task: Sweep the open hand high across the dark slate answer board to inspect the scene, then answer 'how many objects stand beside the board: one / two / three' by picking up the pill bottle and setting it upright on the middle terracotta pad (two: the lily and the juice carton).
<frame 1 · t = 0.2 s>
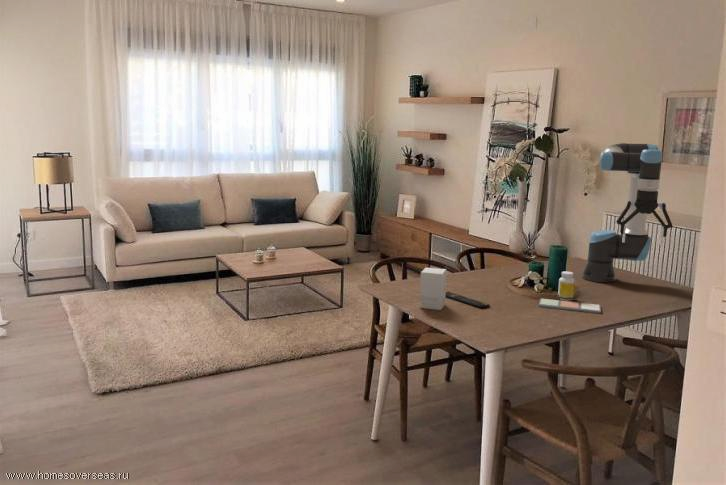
hand: (641, 243, 252), 28 cm above the table, fingers open, 13 cm apart
answer board: (569, 306, 262), on the table
supplement box: (432, 306, 260), on the table
remote control: (464, 302, 268), on the table
pill bottle: (565, 299, 273), on the table
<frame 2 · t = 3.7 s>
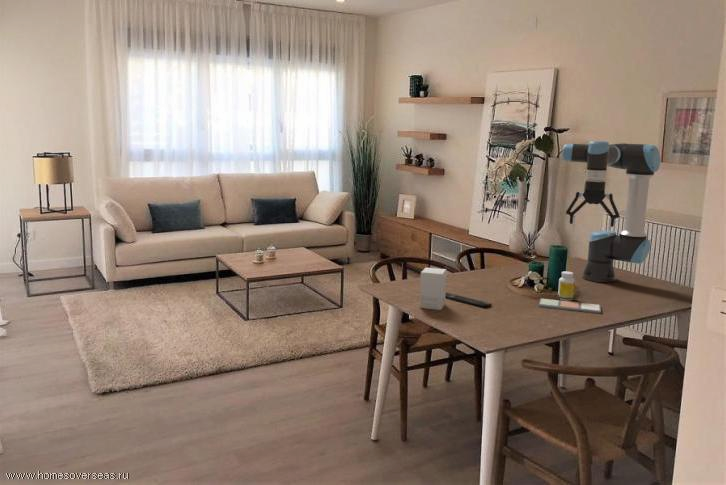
hand: (590, 233, 257), 31 cm above the table, fingers open, 13 cm apart
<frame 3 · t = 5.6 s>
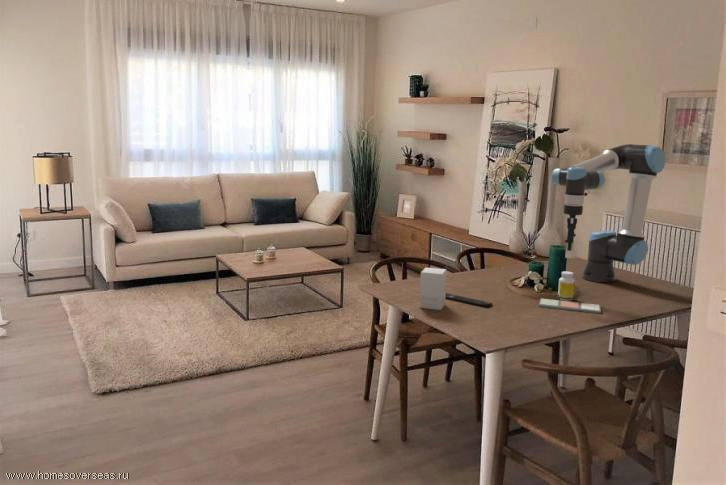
hand: (568, 254, 269), 19 cm above the table, fingers open, 13 cm apart
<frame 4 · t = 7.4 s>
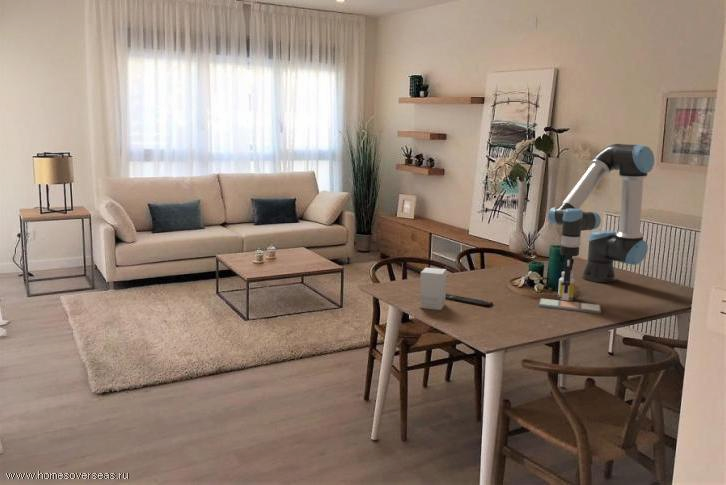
hand: (565, 297, 272), 1 cm above the table, fingers open, 9 cm apart
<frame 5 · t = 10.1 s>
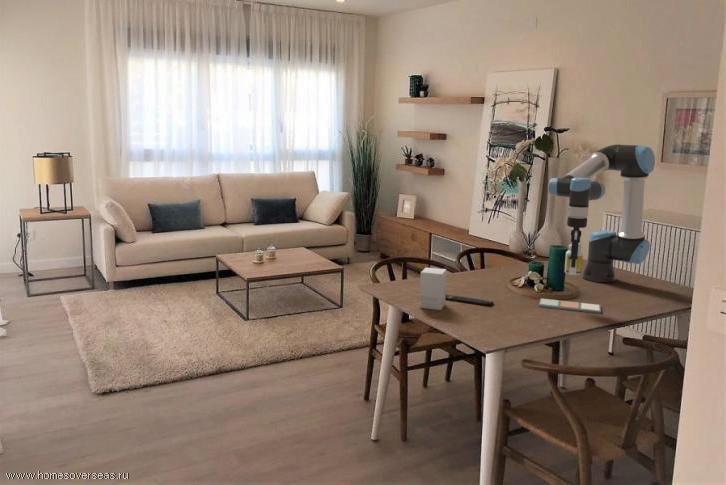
hand: (572, 272, 260), 14 cm above the table, fingers closed on pill bottle, 6 cm apart
pill bottle: (572, 273, 260), point 14 cm above the table, touching gripper
when the fingers open (2 cm above the table, at t = 12.5 s): pill bottle drops 1 cm, resting on answer board.
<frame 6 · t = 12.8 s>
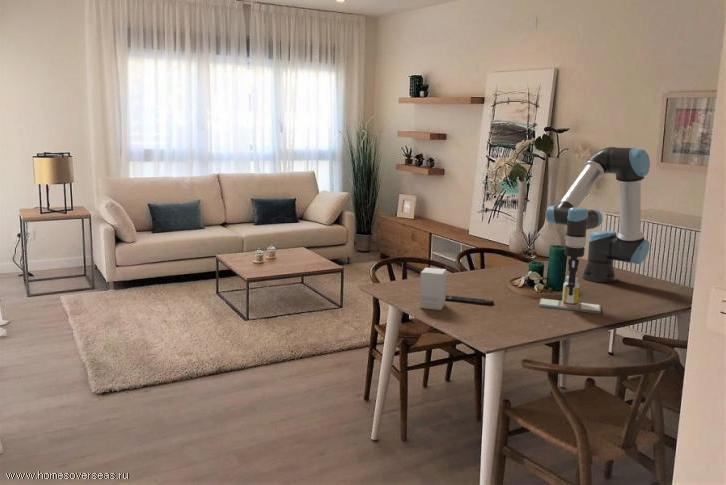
hand: (570, 298, 262), 3 cm above the table, fingers open, 10 cm apart
pill bottle: (569, 304, 262), point 1 cm above the table, touching answer board
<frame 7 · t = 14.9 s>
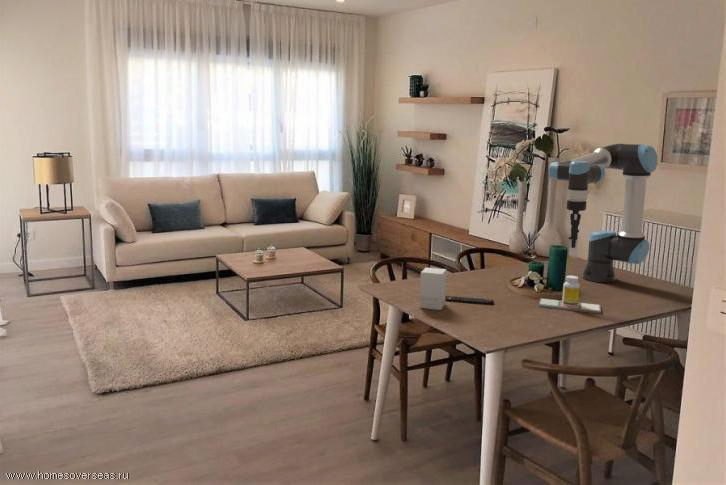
hand: (572, 251, 260), 23 cm above the table, fingers open, 13 cm apart
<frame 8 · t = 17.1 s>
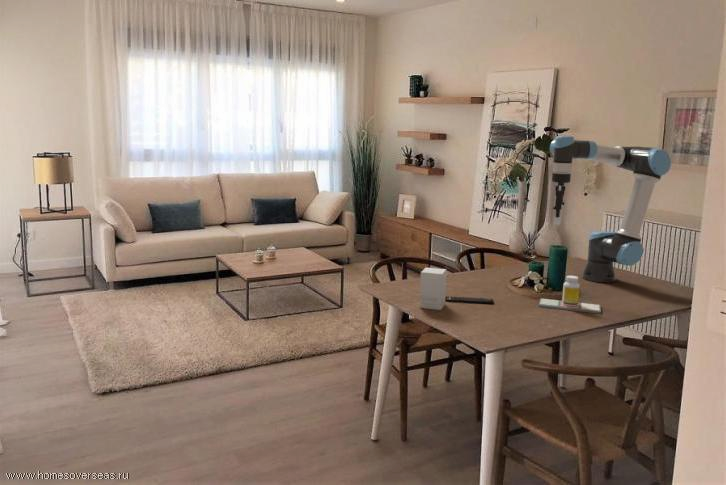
hand: (557, 222, 275), 32 cm above the table, fingers open, 13 cm apart
at the end: pill bottle inside the target area on the answer board (0.2 cm from its centre), point 0.8 cm above the answer board's base; pill bottle tilted 0°; the gripper is holding nothing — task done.
